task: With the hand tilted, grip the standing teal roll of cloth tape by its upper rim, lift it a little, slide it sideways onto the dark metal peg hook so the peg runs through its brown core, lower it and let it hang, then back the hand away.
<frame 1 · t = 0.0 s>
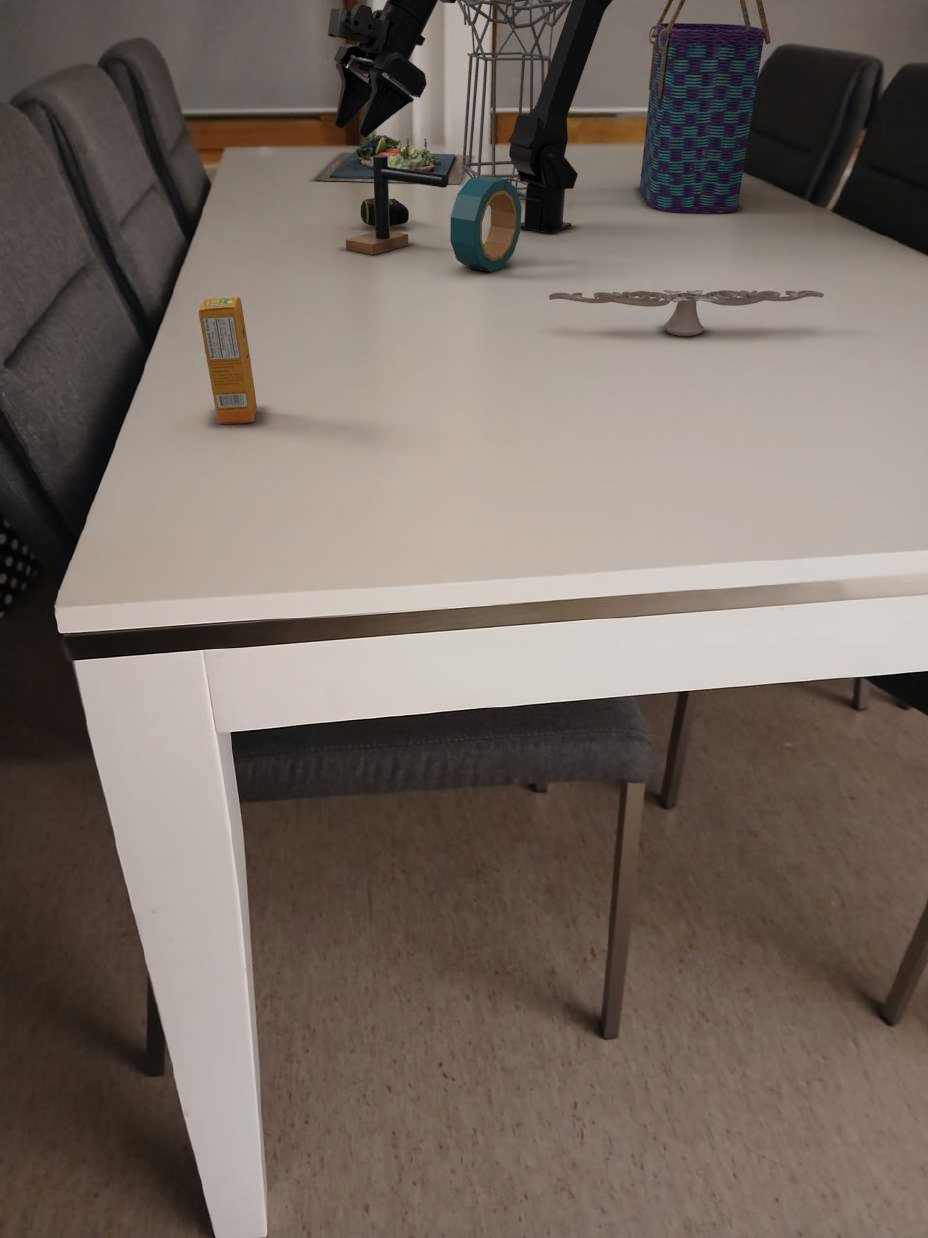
hand: (349, 130, 130), 15 cm above the table, tool tilted 35°, fingers open, 9 cm apart
hook base: (377, 247, 138), on the table
tape roll: (485, 267, 129), on the table
plated dish: (397, 168, 196), on the table
wall hook: (683, 333, 107), on the table
geometric lantern: (503, 199, 170), on the table
tape measure: (387, 227, 150), on the table
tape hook: (383, 248, 138), on the table
supplement box: (236, 419, 85), on the table
basket: (685, 199, 172), on the table
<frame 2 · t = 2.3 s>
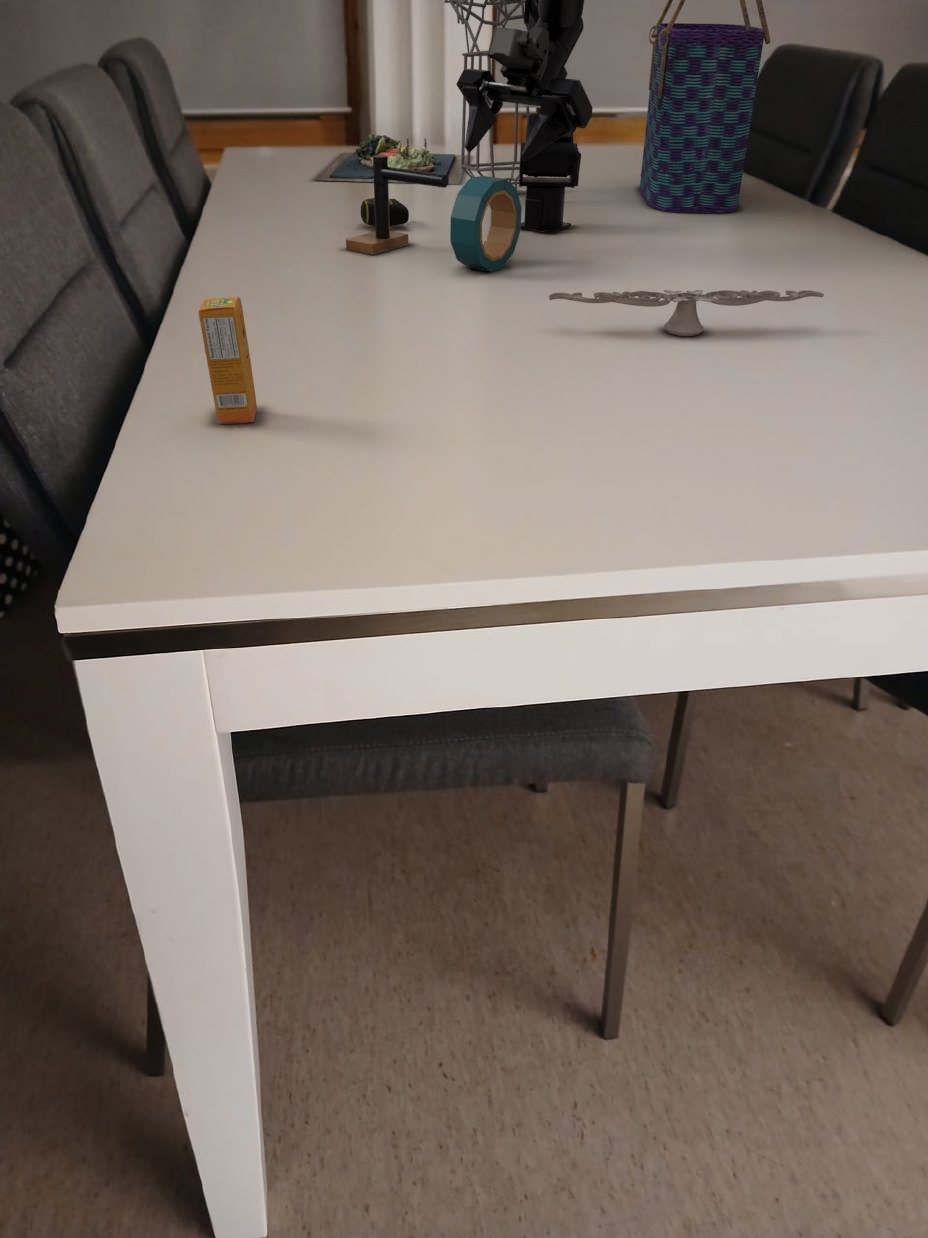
hand: (494, 154, 126), 13 cm above the table, tool tilted 45°, fingers open, 9 cm apart
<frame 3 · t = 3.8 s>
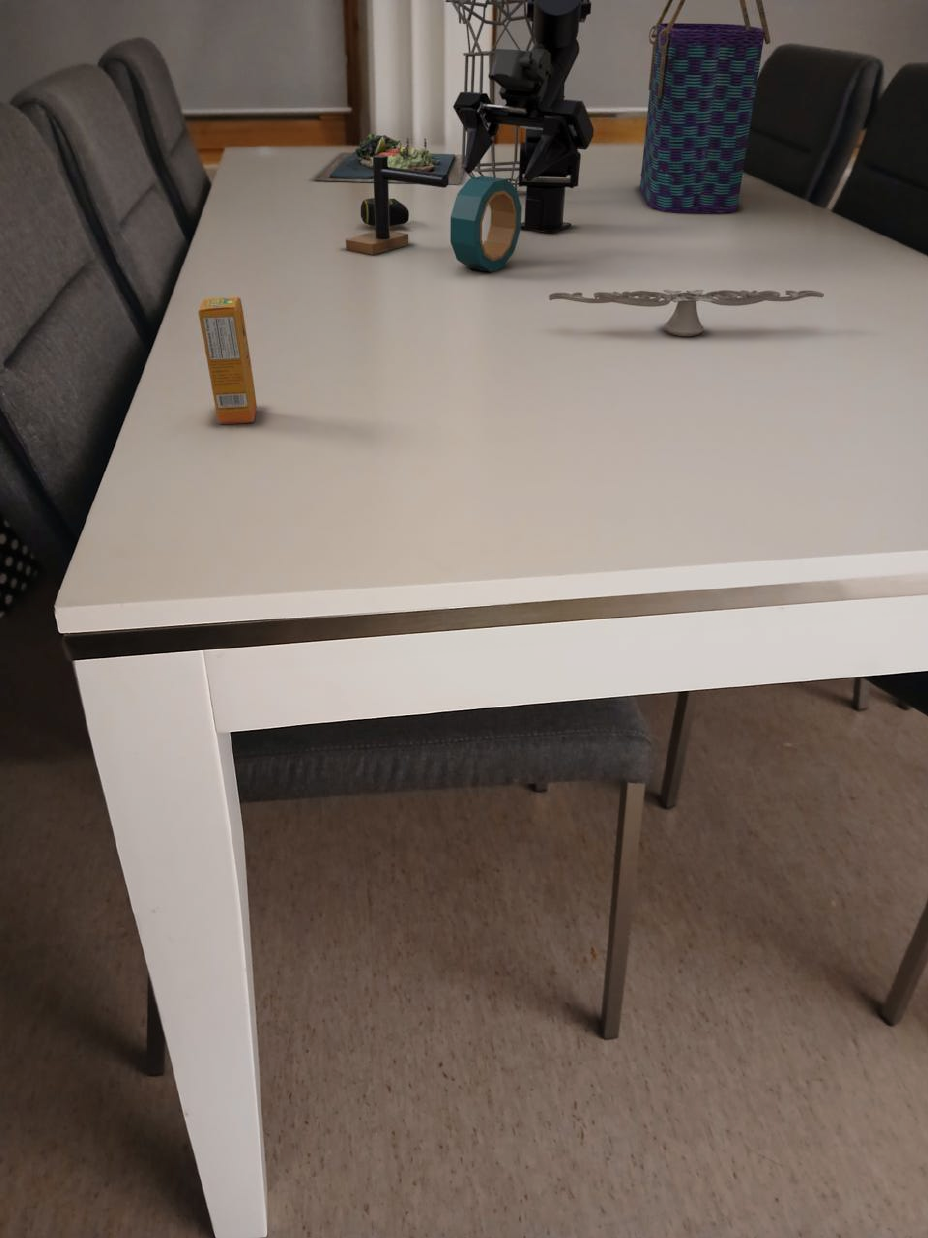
hand: (496, 175, 124), 11 cm above the table, tool tilted 45°, fingers open, 9 cm apart
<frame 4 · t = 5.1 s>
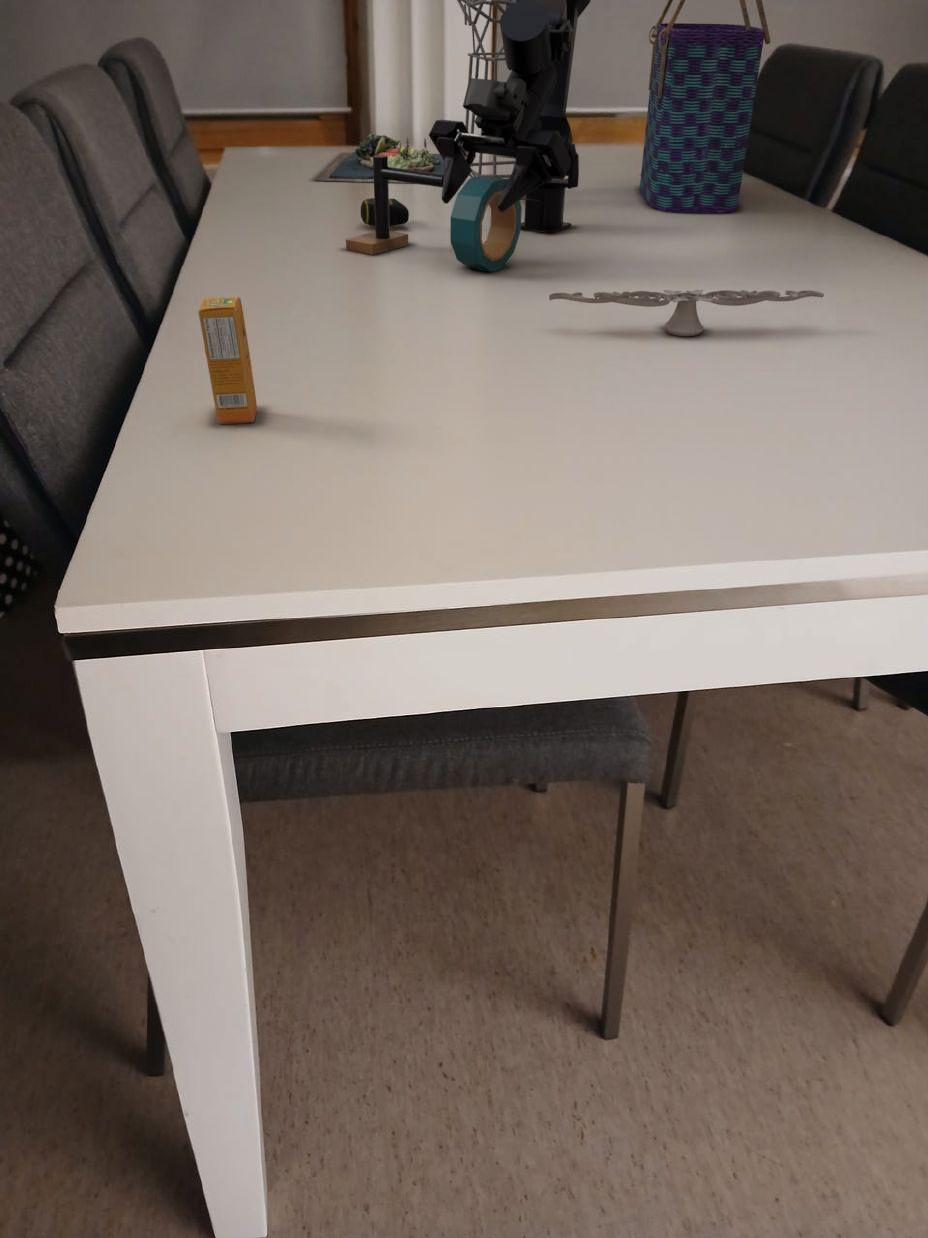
hand: (471, 205, 122), 8 cm above the table, tool tilted 45°, fingers open, 8 cm apart
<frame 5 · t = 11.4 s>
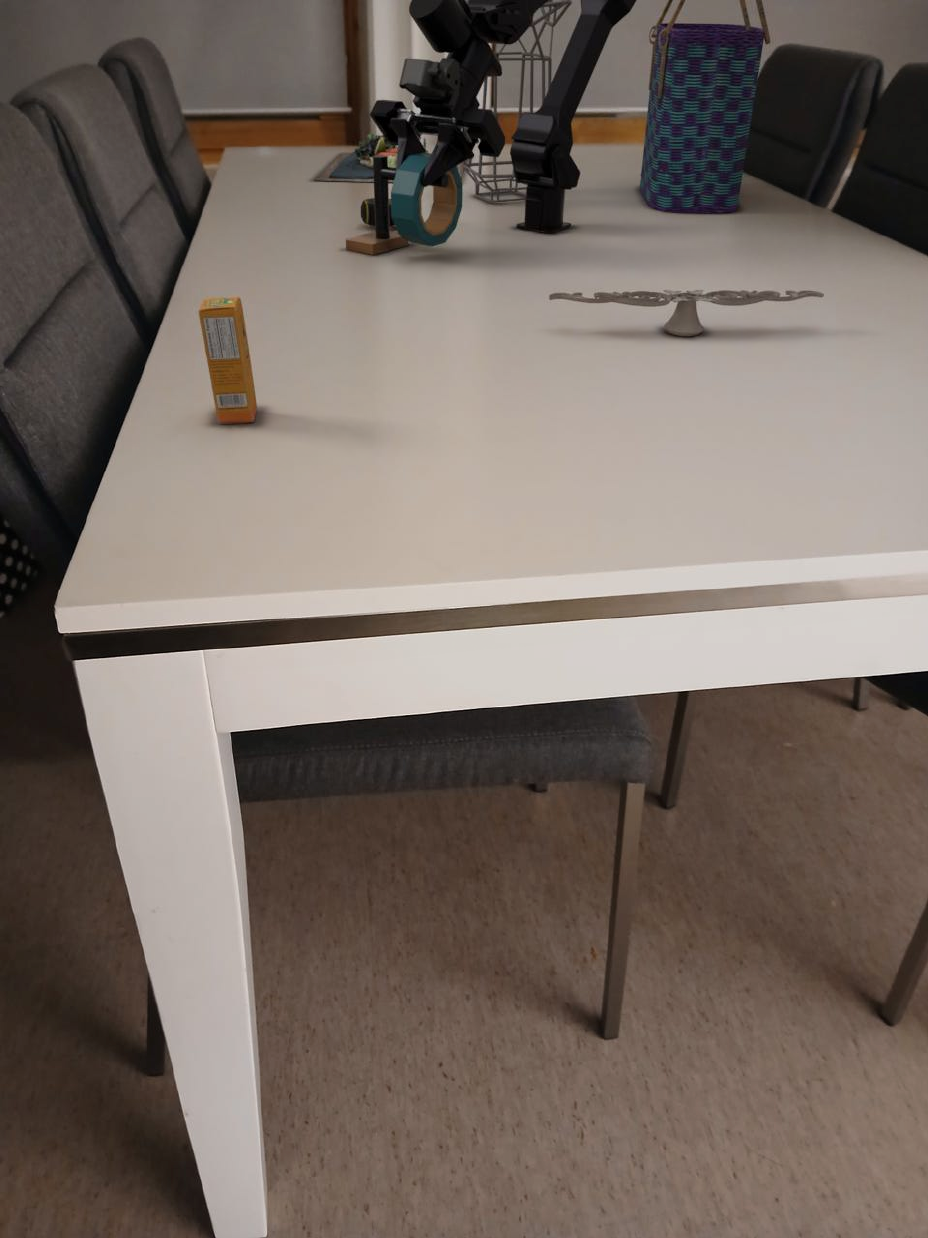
hand: (410, 182, 126), 10 cm above the table, tool tilted 45°, fingers closed on tape roll, 4 cm apart
tape roll: (427, 242, 133), point 2 cm above the table, touching gripper
everything else where it was.
when the fingers open (10 cm above the table, at t = 12.5 s): tape roll stays where it is, resting on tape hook.
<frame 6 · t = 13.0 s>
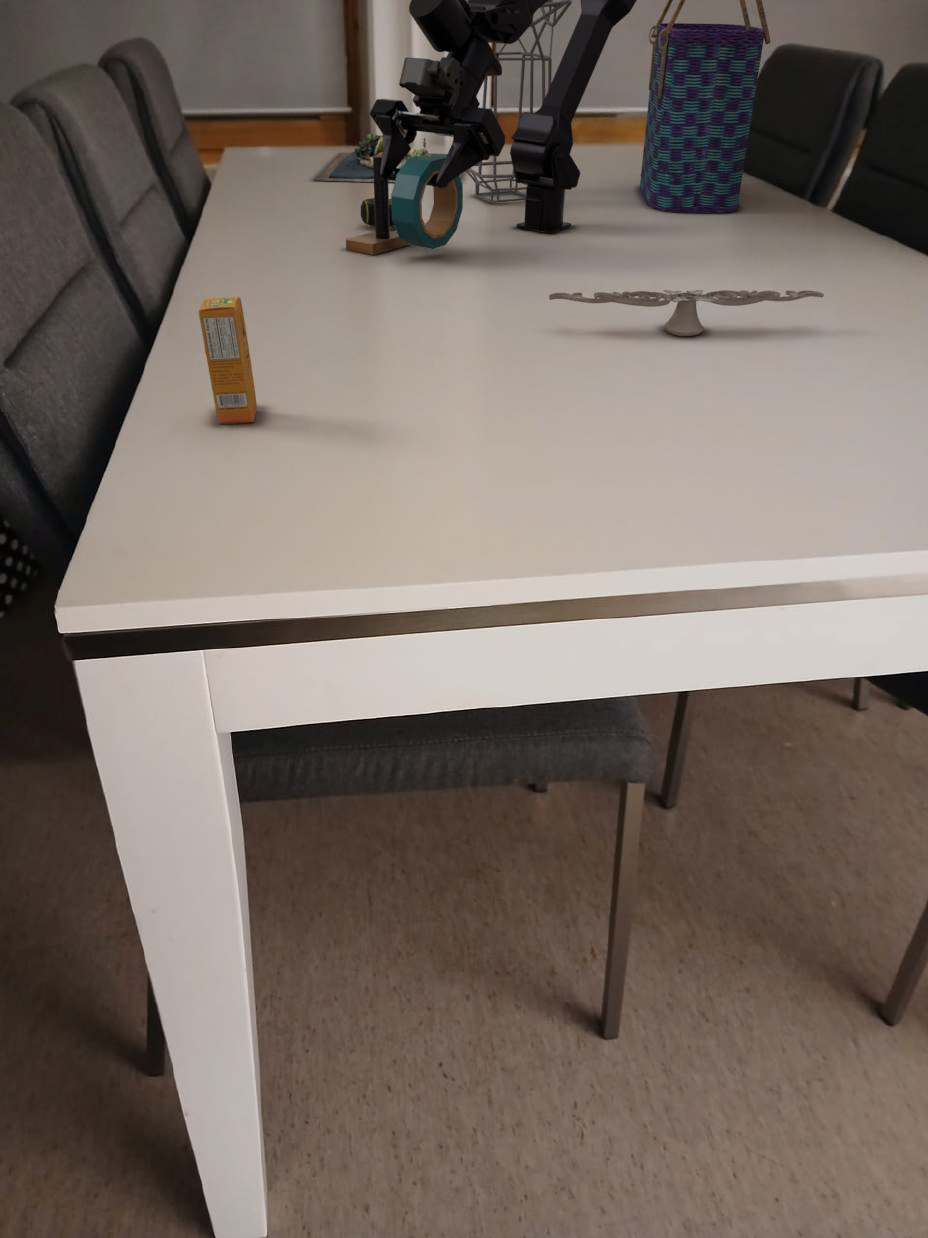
hand: (409, 181, 126), 10 cm above the table, tool tilted 45°, fingers open, 9 cm apart
tape roll: (428, 245, 133), point 2 cm above the table, touching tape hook
everything else where it was.
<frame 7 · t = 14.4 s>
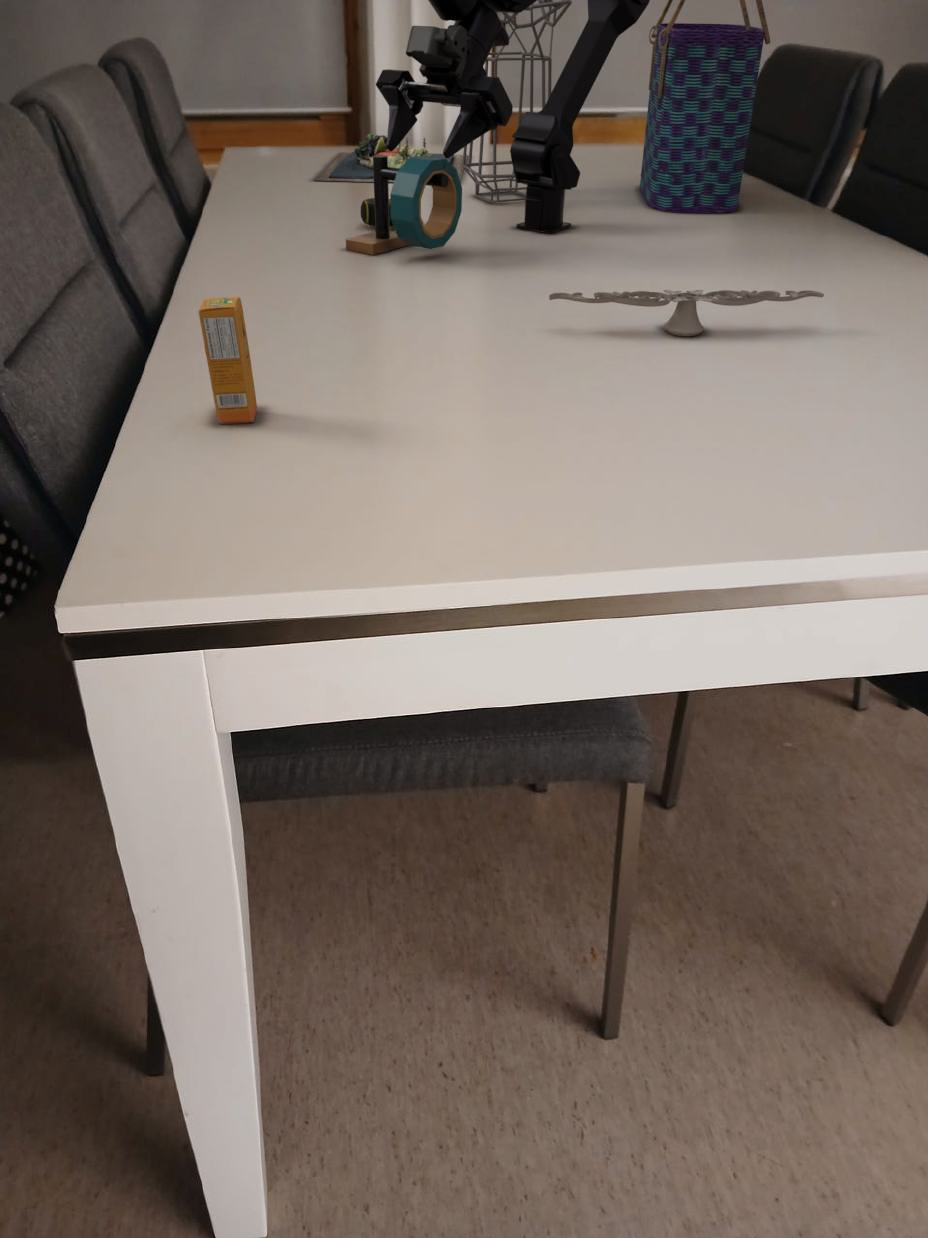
hand: (416, 152, 125), 13 cm above the table, tool tilted 45°, fingers open, 9 cm apart
nothing on the table moved.
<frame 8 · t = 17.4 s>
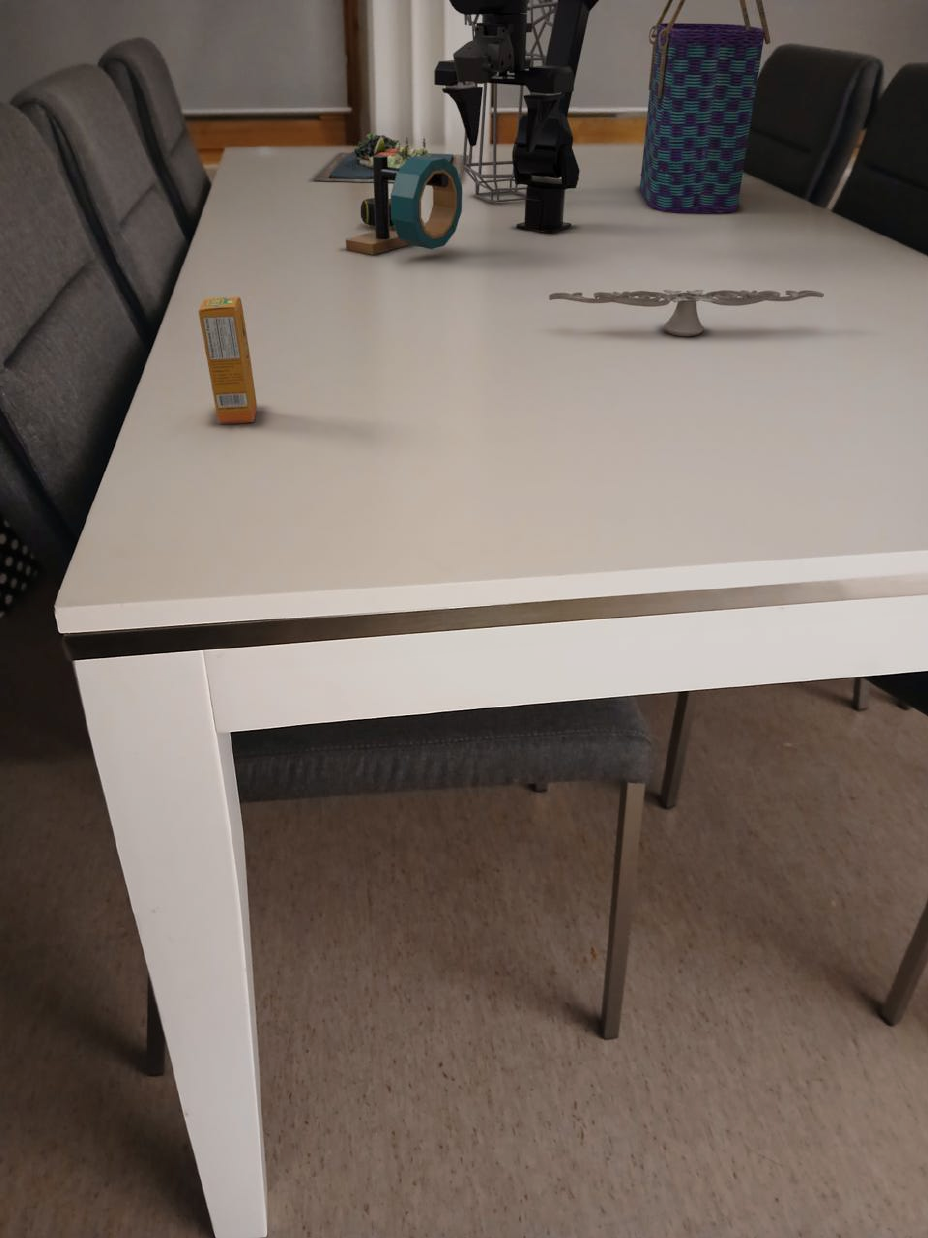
hand: (500, 148, 131), 13 cm above the table, tool pointing down, fingers open, 9 cm apart
nothing on the table moved.
at the end: tape roll 0.2 cm from the target spot, point 1.5 cm above the table; tape roll touching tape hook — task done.
